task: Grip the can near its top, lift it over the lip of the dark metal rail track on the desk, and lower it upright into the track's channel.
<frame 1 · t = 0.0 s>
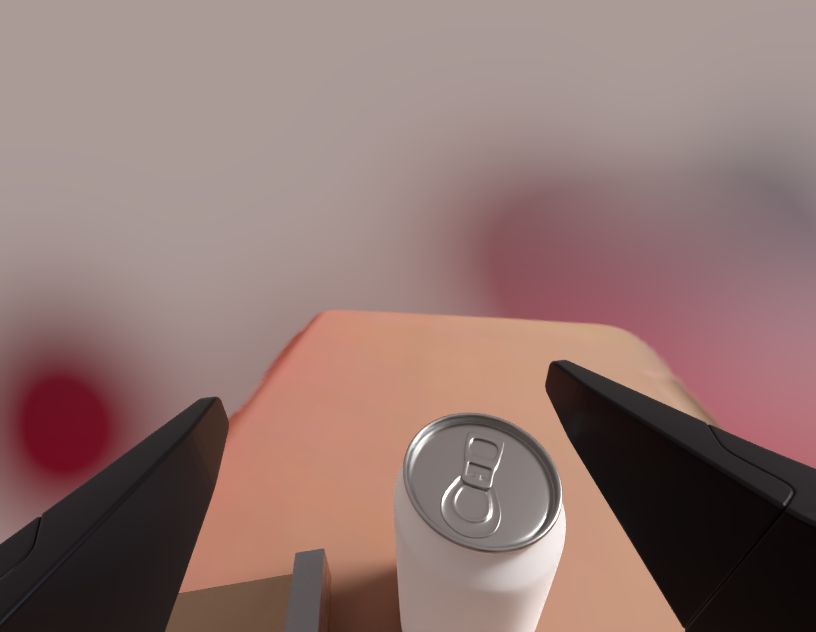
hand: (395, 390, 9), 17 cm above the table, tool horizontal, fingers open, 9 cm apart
can: (460, 620, 18), on the table
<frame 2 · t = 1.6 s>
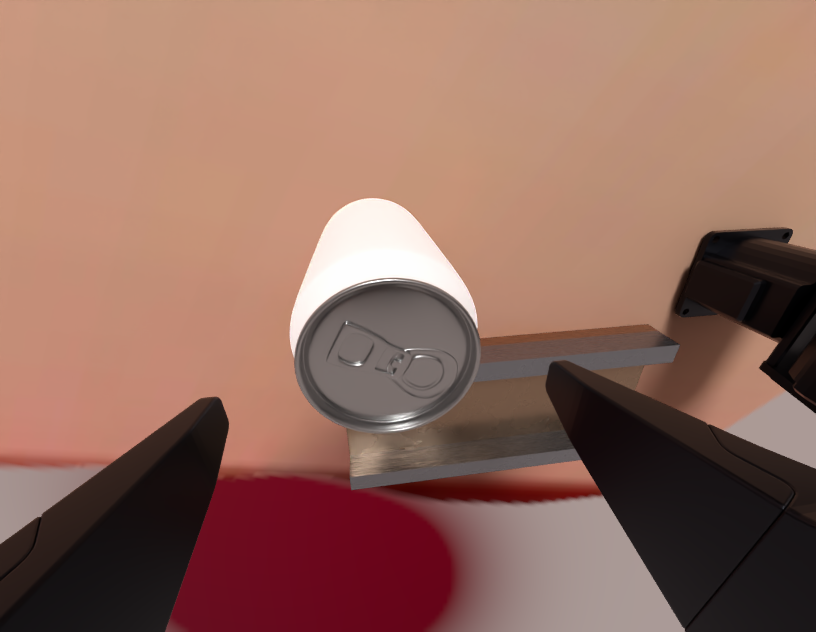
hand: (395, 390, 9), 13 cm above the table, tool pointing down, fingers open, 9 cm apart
can: (373, 250, 21), on the table
track: (493, 394, 27), on the table
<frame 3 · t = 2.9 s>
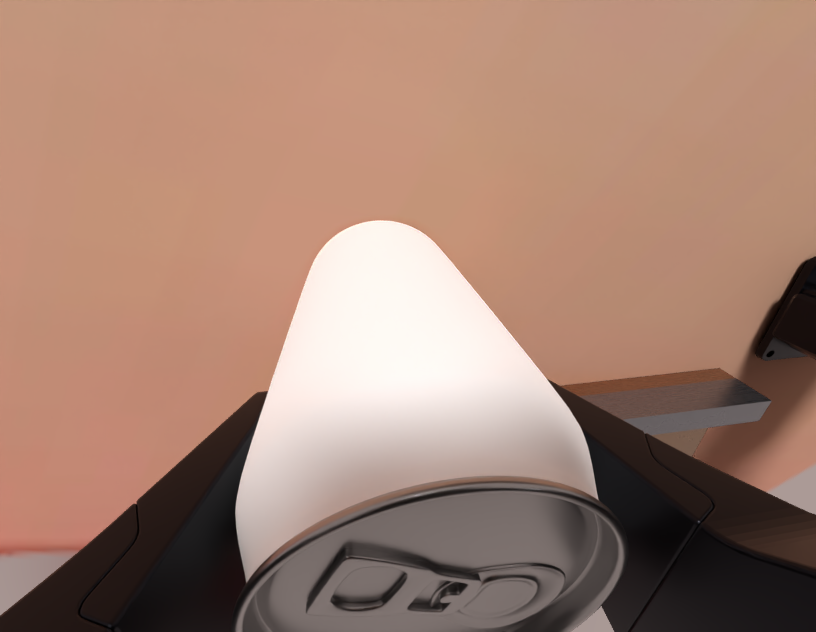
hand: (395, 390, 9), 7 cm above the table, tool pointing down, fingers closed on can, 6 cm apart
can: (380, 287, 15), on the table, touching gripper
track: (526, 452, 22), on the table
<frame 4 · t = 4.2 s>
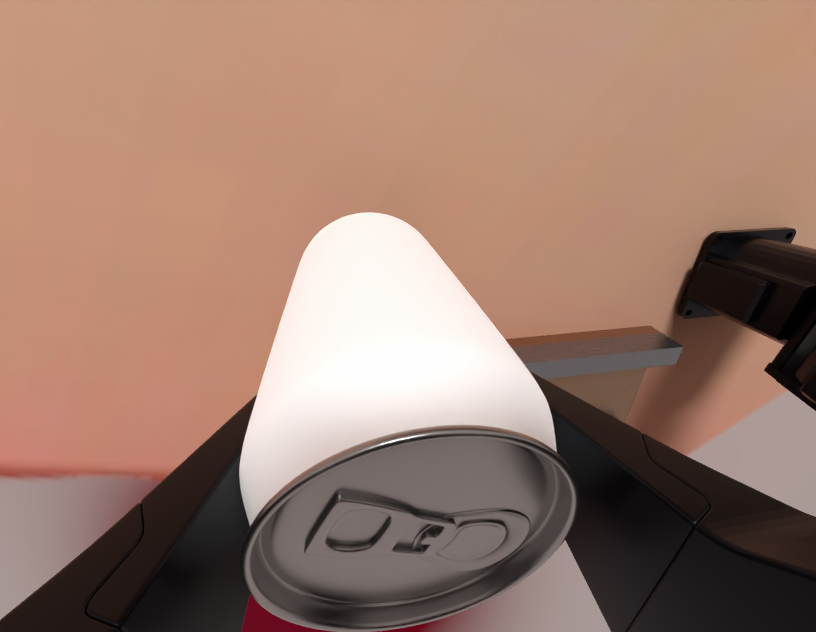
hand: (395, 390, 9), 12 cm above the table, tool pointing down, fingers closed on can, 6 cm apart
can: (369, 277, 16), point 4 cm above the table, touching gripper
track: (494, 397, 27), on the table
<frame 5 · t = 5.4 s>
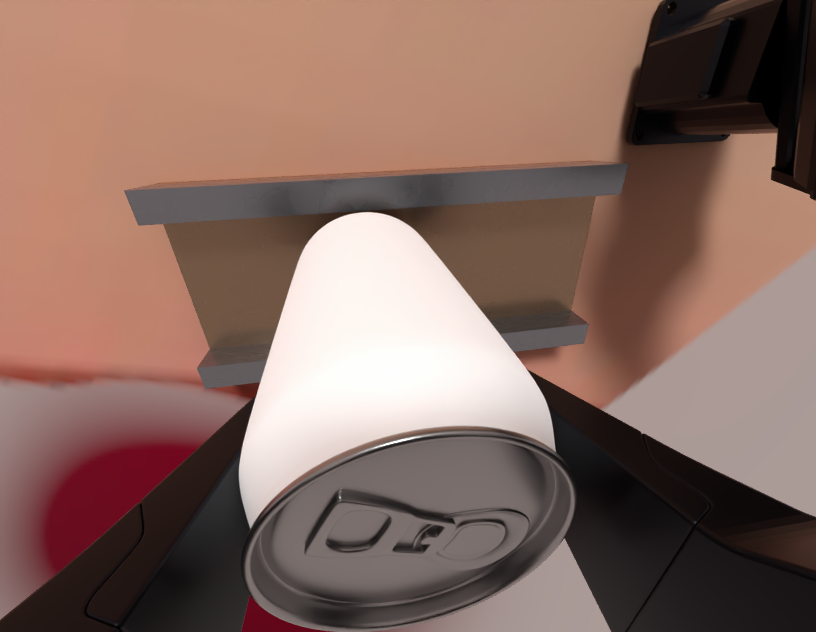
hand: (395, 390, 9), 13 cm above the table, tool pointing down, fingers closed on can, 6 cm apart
can: (367, 277, 16), point 5 cm above the table, touching gripper
track: (396, 265, 21), on the table
when the fingers open (9 cm above the table, at t = 7.0 s): can stays where it is, resting on track.
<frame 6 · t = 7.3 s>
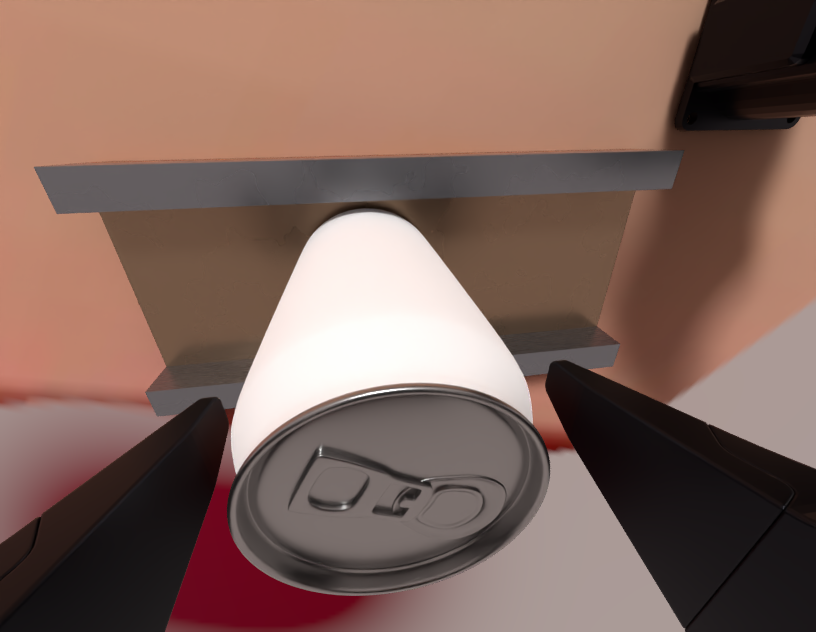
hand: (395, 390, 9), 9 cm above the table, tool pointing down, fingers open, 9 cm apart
can: (368, 272, 17), point 1 cm above the table, touching track
track: (393, 270, 18), on the table
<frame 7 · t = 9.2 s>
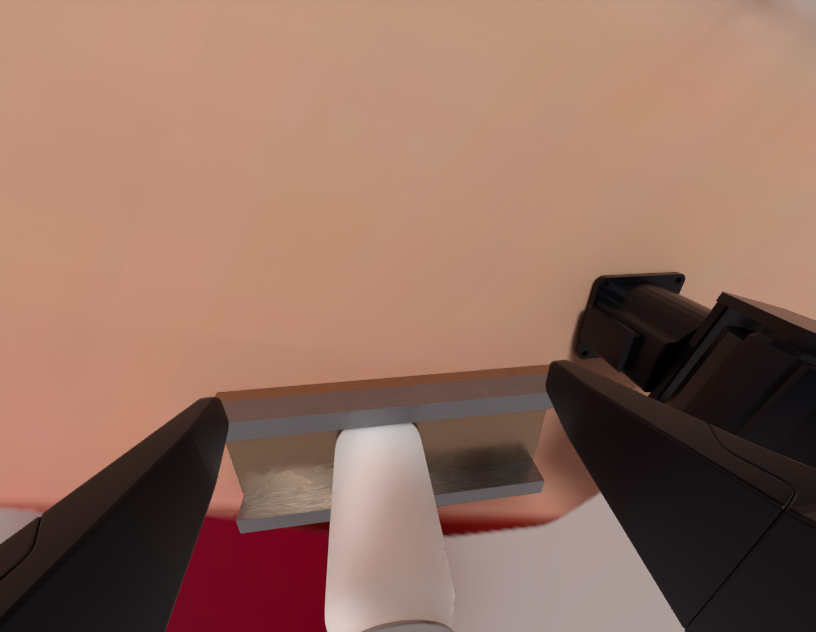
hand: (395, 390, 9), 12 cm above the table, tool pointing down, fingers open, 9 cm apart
can: (378, 440, 26), point 1 cm above the table, touching track
track: (394, 432, 27), on the table
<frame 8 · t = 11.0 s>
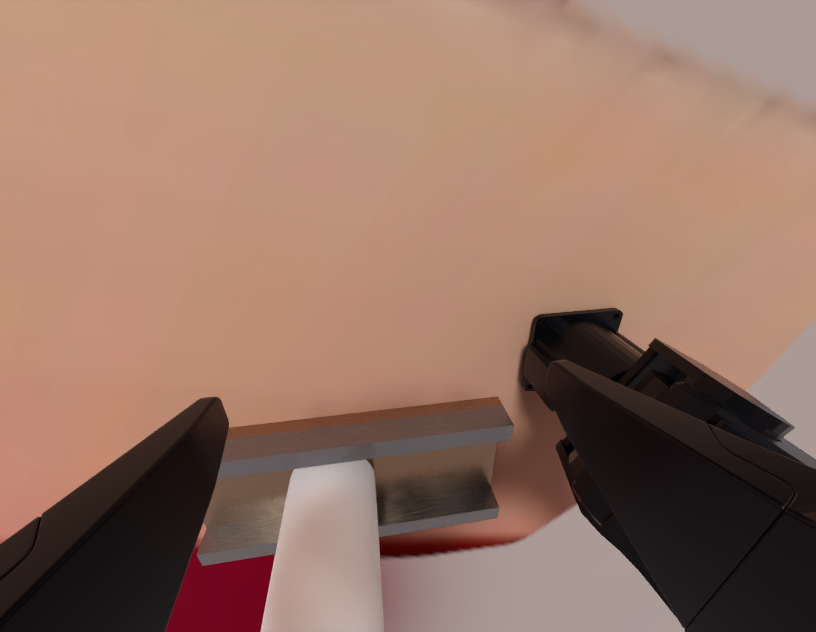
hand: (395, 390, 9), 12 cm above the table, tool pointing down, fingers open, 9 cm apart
can: (333, 473, 26), point 1 cm above the table, touching track
track: (351, 464, 27), on the table
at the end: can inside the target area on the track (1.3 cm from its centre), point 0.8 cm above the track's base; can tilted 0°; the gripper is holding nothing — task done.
